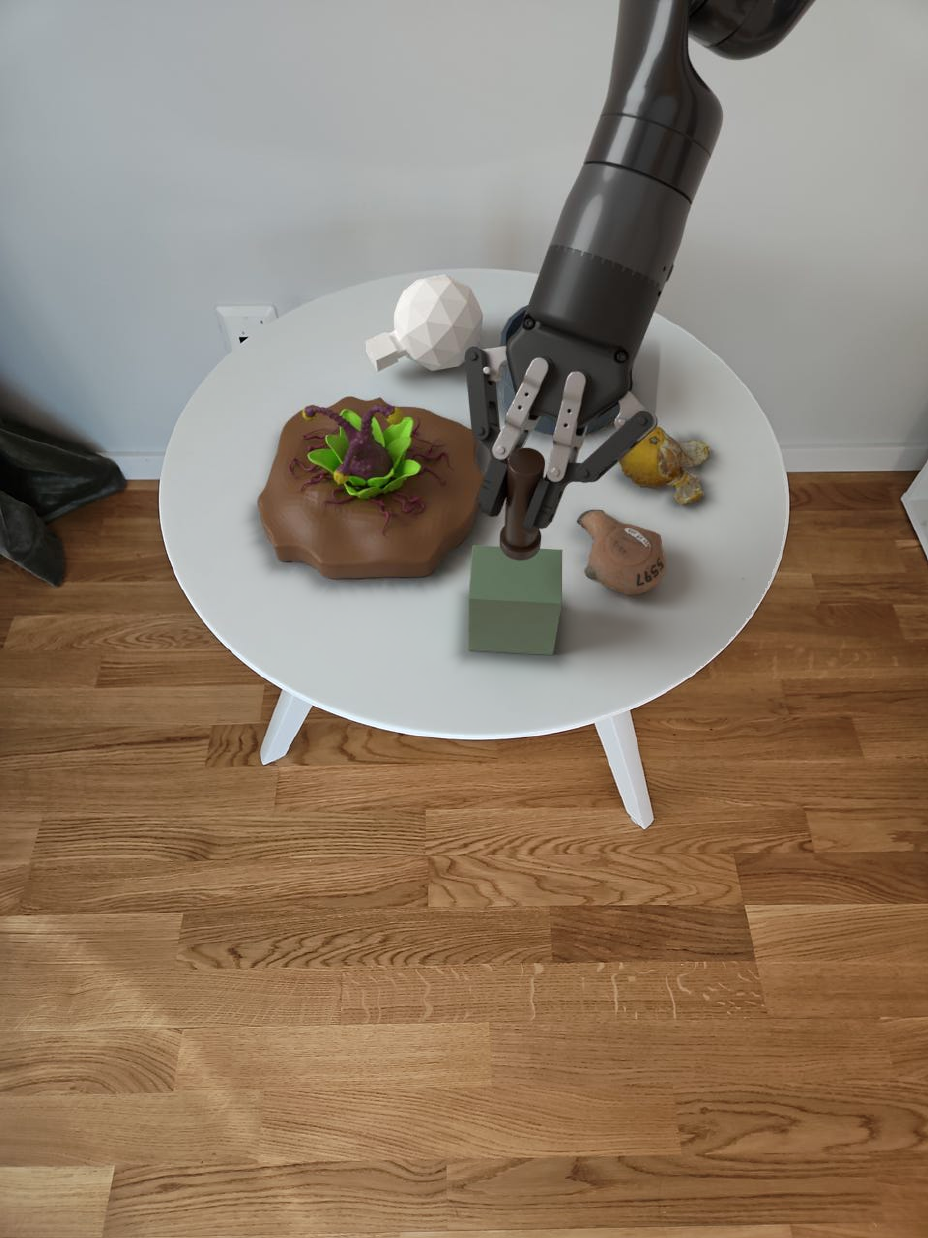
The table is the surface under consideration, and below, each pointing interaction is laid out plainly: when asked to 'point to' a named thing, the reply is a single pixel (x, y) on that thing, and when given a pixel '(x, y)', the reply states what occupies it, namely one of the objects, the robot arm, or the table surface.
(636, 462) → the fruit
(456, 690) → the table surface
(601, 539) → the oil lamp
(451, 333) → the perfume bottle
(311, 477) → the plant
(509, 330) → the bowl
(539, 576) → the stand
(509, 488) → the brown cylindrical peg
